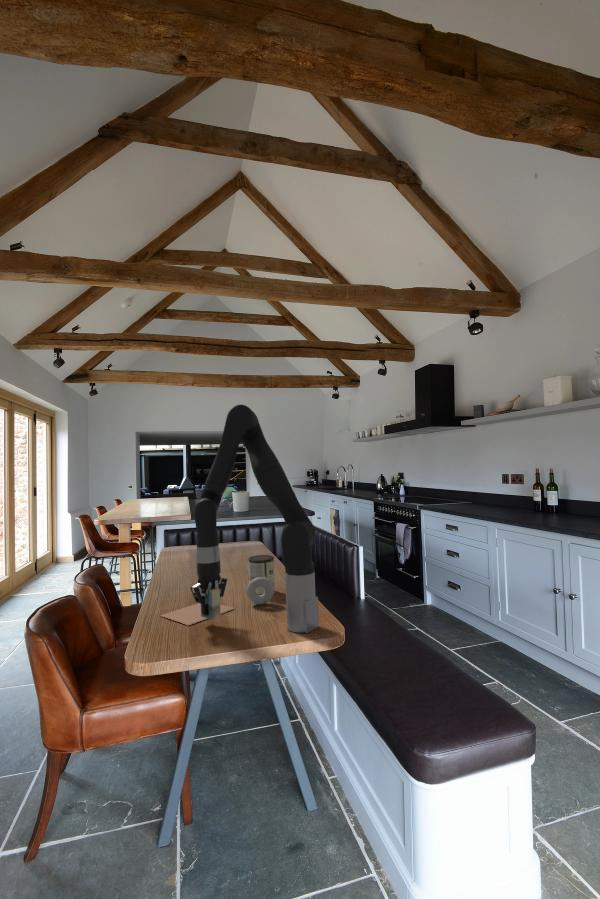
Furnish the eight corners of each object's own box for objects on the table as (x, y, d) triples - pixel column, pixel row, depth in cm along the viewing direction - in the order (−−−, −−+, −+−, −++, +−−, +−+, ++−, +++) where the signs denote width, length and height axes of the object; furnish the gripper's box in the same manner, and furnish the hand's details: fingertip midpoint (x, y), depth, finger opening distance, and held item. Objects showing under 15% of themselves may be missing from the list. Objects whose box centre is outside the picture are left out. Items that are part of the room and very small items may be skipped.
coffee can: (252, 589, 183) (251, 554, 184) (277, 589, 182) (276, 554, 182) (246, 596, 173) (245, 560, 174) (272, 596, 172) (271, 560, 172)
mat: (234, 609, 158) (234, 608, 158) (188, 626, 143) (188, 625, 143) (206, 601, 168) (206, 600, 168) (160, 616, 153) (160, 615, 153)
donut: (247, 607, 160) (246, 579, 161) (246, 604, 164) (246, 576, 164) (274, 604, 162) (273, 577, 162) (273, 602, 165) (272, 575, 165)
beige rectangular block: (220, 617, 142) (219, 588, 143) (212, 620, 140) (211, 591, 140) (208, 613, 146) (207, 586, 146) (200, 616, 144) (199, 588, 144)
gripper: (198, 565, 136) (200, 622, 135) (232, 556, 147) (234, 609, 146) (183, 563, 141) (185, 618, 140) (217, 554, 152) (219, 605, 151)
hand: (210, 613), depth 143 cm, fingers closed on beige rectangular block, 3 cm apart
